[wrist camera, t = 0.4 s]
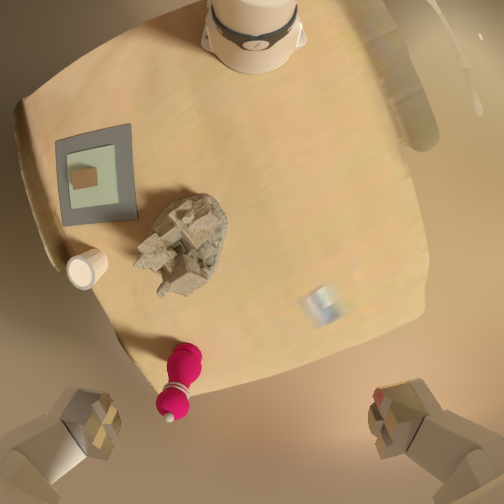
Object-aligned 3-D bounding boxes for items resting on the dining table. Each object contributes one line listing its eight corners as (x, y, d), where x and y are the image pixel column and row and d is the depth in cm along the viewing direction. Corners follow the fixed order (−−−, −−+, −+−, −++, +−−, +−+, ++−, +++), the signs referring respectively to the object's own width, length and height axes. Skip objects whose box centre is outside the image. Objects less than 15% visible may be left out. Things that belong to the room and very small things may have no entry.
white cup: (98, 239, 54) (81, 249, 47) (116, 268, 55) (101, 281, 49) (78, 255, 55) (60, 266, 48) (95, 282, 56) (79, 295, 50)
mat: (56, 141, 47) (55, 141, 47) (131, 124, 47) (130, 123, 47) (64, 226, 53) (63, 226, 52) (138, 219, 52) (137, 219, 52)
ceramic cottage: (176, 295, 57) (157, 331, 42) (138, 219, 53) (105, 233, 38) (248, 264, 56) (252, 294, 41) (212, 183, 52) (202, 184, 38)
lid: (68, 154, 48) (55, 155, 43) (114, 144, 48) (102, 144, 43) (73, 208, 51) (60, 212, 47) (118, 202, 51) (107, 206, 46)
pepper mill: (165, 353, 61) (140, 417, 42) (184, 334, 60) (160, 400, 40) (191, 371, 63) (174, 438, 43) (210, 354, 61) (197, 423, 42)
